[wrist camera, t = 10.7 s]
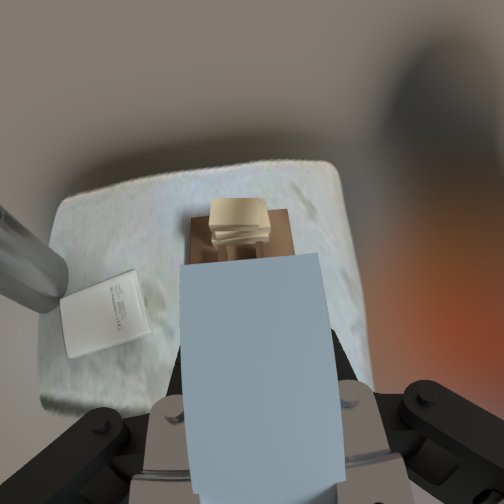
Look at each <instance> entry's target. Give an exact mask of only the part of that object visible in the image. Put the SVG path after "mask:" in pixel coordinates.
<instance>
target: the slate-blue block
mask: <svg viewBox="0 0 504 504" xmlns="http://www.w3.org/2000/svg"><path fill="white" fill-rule="evenodd" d="M180 349H181V374H182V392H183V407H184V420H185V431H186V441H187V450H188V459H189V467H190V475H191V482H192V489H193V494H199V495H200V499H201V503H202V504H335V496H336V483H337V482H342V481H346V474H345V455H344V440H343V427H342V416H341V405H340V396H339V387H338V378H337V370H336V362H335V355H334V347H333V341H332V334H331V327H330V321H329V315H328V308H327V303H326V297H325V291H324V285H323V280H322V275H321V269H320V264H319V259H318V254H317V253H312V254H301V255H291V256H280V257H269V258H258V259H247V260H236V261H225V262H213V263H202V264H191V265H180Z"/></svg>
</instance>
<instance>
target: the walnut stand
mask: <svg viewBox="0 0 504 504" xmlns="http://www.w3.org/2000/svg"><path fill="white" fill-rule="evenodd" d="M267 212H268V216H269V221H270V226H271V232H270V233H269V242H265V243H263V241H258V242H255V243H254V244H243V245H232V246H225V245H218V247H214V246H213V244H212V232H211V230H210V227H209V218H210V216H204V217H195V218H191V244H190V265H191V264H202V263H213V262H225V261H236V260H247V259H258V258H269V257H280V256H291V255H295V252H294V246H293V240H292V234H291V228H290V223H289V217H288V211H287V209H279V210H267Z"/></svg>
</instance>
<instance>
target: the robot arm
mask: <svg viewBox="0 0 504 504" xmlns="http://www.w3.org/2000/svg"><path fill="white" fill-rule="evenodd" d="M67 282H68V269H67V266H66V263H65V261H64V259H63V258H62V257H61V256H59V255H58V254H57V253H55V252H54V251H53V250H52V249H50V248H49V247H48V246H47V245H46V244H45V243H43V242H42V241H41V240H40V239H38V238H37V237H36V236H35V235H34V234H33V233H31V232H30V231H29V230H28V229H27V228H26V227H24V226H23V225H22V224H21V223H20V222H19V221H18V220H17V219H15V218H14V217H13V216H12V215H11V214H10V213H9V212H8V211H7V210H6V209H4V207H3V206H2V205H0V294H1V295H3V296H5V297H7V298H9V299H11V300H13V301H15V302H17V303H19V304H21V305H23V306H25V307H27V308H29V309H31V310H34V311H36V312H38V313H46V312H49V311H51V310H52V309H54V308H55V307H56V306H57V305H58V303H59V302H60V299H61V298H62V297H63V295H64V292H65V290H66V286H67ZM331 334H332V341H333V347H334V355H335V362H336V370H337V378H338V387H339V396H340V405H341V416H342V427H343V440H344V455H345V474H346V481H342V482H337V483H336V496H335V504H414V500H413V495H412V491H411V487H410V483H409V479H410V480H411V481H413V482H414V483H415V484H417V485H418V486H420V487H421V488H422V489H424V490H425V491H427V492H428V493H430V494H431V495H432V496H434V497H435V498H437V499H438V500H440V501H441V502H443V503H444V504H504V421H503V420H502V419H500V418H498V417H496V416H495V415H493V414H491V413H489V412H488V411H486V410H484V409H482V408H480V407H479V406H477V405H475V404H473V403H472V402H470V401H468V400H466V399H465V398H463V397H461V396H459V395H458V394H456V393H454V392H452V391H451V390H449V389H447V388H446V387H444V386H442V385H440V384H439V383H437V382H434V381H430V380H420V381H416V382H413V383H411V384H410V385H409V386H408V387H407V388H406V390H405V391H404V394H379V393H375V392H373V391H372V390H371V388H370V387H368V386H367V385H366V384H364V383H362V382H360V381H358V380H357V378H356V375H355V373H354V371H353V369H352V367H351V365H350V363H349V360H348V358H347V356H346V354H345V352H344V351H343V348H342V346H341V344H340V343H339V339H338V337H337V335H336V333H335V331H334V330H332V329H331ZM0 504H202V503H201V499H200V495H199V494H193V489H192V482H191V475H190V467H189V459H188V450H187V441H186V431H185V420H184V407H183V392H182V374H181V349H180V347H179V351H178V354H177V358H176V361H175V366H174V369H173V372H172V376H171V379H170V383H169V387H168V391H167V394H166V397H164V398H162V399H160V400H159V401H157V402H156V403H155V404H154V405H153V407H152V408H151V410H150V413H148V414H145V415H141V416H135V417H129V418H123V419H122V417H121V415H120V414H119V413H118V412H117V411H116V410H114V409H111V408H107V407H101V408H96V409H93V410H91V411H89V412H88V413H86V414H85V415H84V416H83V417H82V418H80V419H79V420H78V421H77V422H76V423H75V424H73V425H72V426H71V427H70V428H69V429H68V430H66V431H65V432H64V433H63V434H62V435H60V436H59V437H58V438H57V439H56V440H54V441H53V442H52V443H51V444H50V445H49V446H47V447H46V448H45V449H44V450H42V451H41V452H40V453H39V454H38V455H36V456H35V457H34V458H33V459H32V460H30V461H29V462H28V463H27V464H25V465H24V466H23V467H22V468H21V469H19V470H18V471H17V472H16V473H14V474H13V475H12V476H11V477H10V478H8V479H7V480H6V481H5V482H3V483H2V484H1V485H0Z"/></svg>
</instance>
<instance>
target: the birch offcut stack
mask: <svg viewBox="0 0 504 504" xmlns="http://www.w3.org/2000/svg"><path fill="white" fill-rule="evenodd" d="M209 227H210V230H211V232H212V244H213V246H214V247H218V245H225V246H232V245H243V244H254V243H255V242H258V241H263V243H265V242H269V233H270V232H271V226H270V221H269V216H268V212H267V207H266V203H265V199H259V198H218V199H212V201H211V209H210V218H209Z"/></svg>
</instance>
